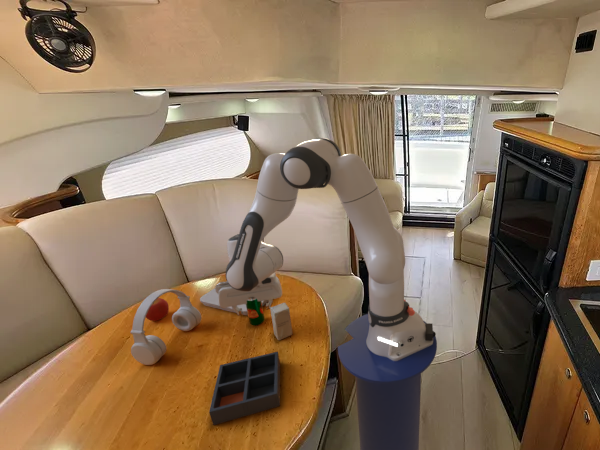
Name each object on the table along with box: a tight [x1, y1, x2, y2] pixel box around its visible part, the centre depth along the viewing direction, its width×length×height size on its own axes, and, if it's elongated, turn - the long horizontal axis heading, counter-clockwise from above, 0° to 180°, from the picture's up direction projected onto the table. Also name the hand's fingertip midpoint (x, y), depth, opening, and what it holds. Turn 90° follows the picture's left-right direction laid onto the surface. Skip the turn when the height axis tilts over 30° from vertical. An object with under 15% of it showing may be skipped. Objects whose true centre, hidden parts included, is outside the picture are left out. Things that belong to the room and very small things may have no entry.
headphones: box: [130, 288, 203, 366], centre depth 100 cm, size 20×8×19 cm, turn 173°
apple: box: [145, 297, 170, 322], centre depth 115 cm, size 8×8×8 cm
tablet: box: [199, 287, 269, 316], centre depth 127 cm, size 16×26×2 cm, turn 72°
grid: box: [208, 351, 281, 426], centre depth 86 cm, size 16×16×5 cm
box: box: [269, 302, 293, 341], centre depth 106 cm, size 5×4×11 cm
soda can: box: [246, 297, 266, 327], centre depth 112 cm, size 5×5×12 cm
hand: (254, 311), depth 112 cm, fingers open, 8 cm apart
